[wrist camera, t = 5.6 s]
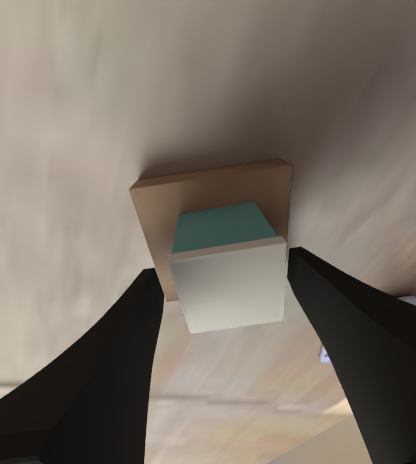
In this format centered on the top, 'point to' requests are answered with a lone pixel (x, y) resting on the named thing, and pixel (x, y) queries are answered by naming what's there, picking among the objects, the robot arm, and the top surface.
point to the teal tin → (228, 268)
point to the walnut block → (208, 203)
